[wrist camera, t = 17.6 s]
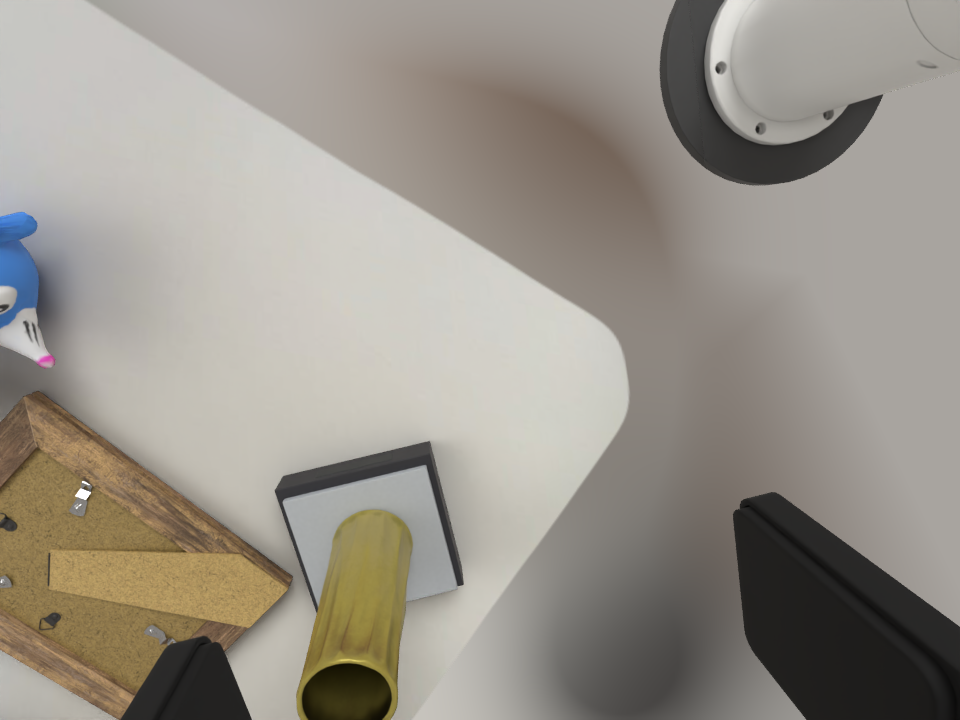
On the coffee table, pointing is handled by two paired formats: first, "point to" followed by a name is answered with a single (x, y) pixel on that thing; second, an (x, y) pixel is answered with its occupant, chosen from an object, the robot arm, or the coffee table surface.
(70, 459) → the picture frame
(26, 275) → the blue mole toy
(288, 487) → the scale
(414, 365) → the coffee table surface
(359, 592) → the vase
